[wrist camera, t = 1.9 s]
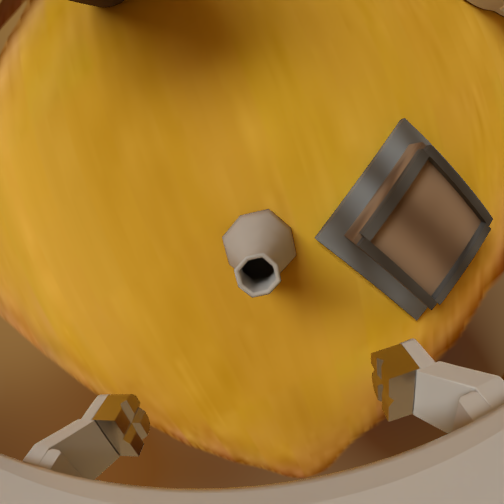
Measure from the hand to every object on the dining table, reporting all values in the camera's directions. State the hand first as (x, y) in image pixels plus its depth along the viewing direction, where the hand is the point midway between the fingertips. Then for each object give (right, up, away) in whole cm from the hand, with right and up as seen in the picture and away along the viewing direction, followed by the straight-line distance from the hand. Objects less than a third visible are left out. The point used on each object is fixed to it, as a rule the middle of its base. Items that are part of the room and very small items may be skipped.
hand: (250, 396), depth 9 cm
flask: (+1, +5, +22) cm, 23 cm away
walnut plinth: (+18, +8, +21) cm, 28 cm away
